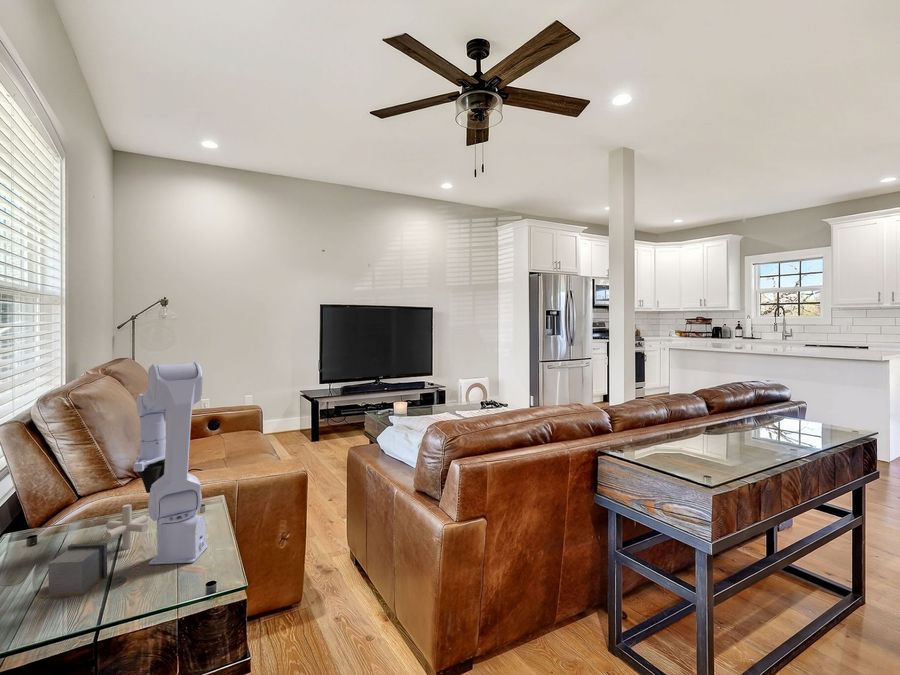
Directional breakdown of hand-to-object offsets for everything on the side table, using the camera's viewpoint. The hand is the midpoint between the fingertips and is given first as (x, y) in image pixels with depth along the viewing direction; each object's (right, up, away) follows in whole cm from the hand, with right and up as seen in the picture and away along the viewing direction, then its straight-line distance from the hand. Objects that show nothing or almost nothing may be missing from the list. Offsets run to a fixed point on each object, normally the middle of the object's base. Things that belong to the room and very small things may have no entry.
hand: (153, 490), depth 124 cm
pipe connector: (+1, -10, -12) cm, 15 cm away
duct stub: (+3, -10, -29) cm, 30 cm away
